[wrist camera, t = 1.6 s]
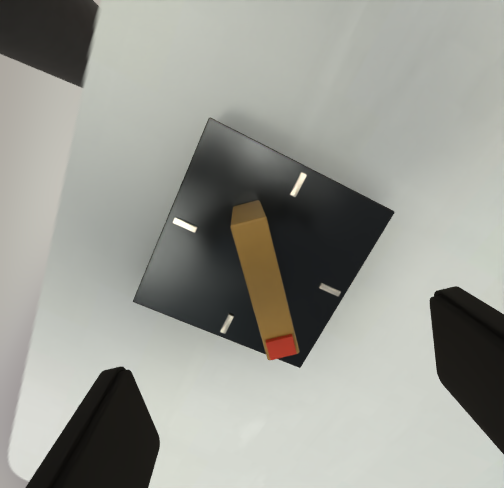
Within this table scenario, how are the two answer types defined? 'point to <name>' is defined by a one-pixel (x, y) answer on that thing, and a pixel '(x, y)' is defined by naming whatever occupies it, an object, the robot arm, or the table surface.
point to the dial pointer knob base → (282, 233)
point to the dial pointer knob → (263, 279)
